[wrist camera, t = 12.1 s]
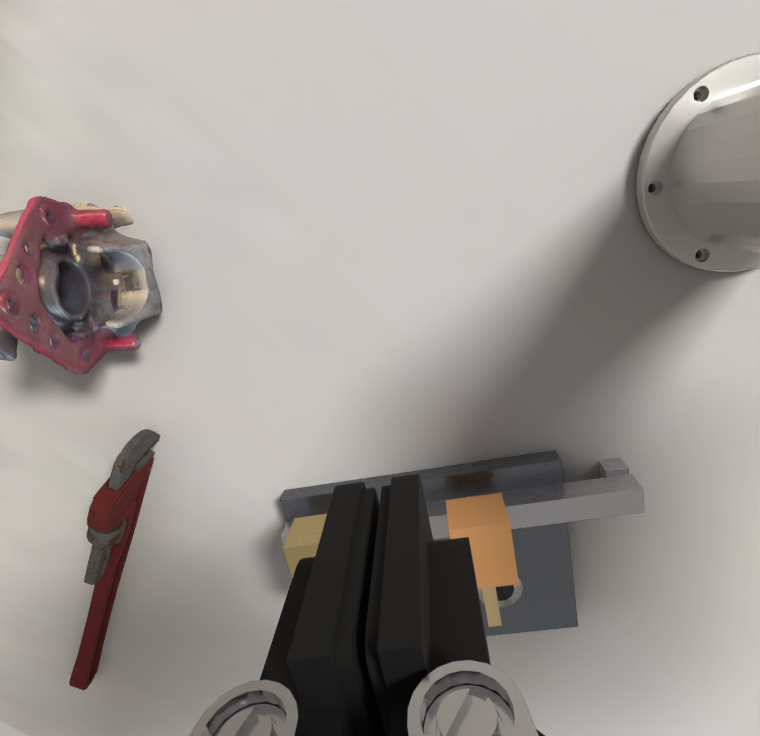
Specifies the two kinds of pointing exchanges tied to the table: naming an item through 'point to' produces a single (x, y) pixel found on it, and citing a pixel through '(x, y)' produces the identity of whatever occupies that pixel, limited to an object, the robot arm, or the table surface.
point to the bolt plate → (527, 541)
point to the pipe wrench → (111, 545)
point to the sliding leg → (486, 544)
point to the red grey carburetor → (73, 283)
